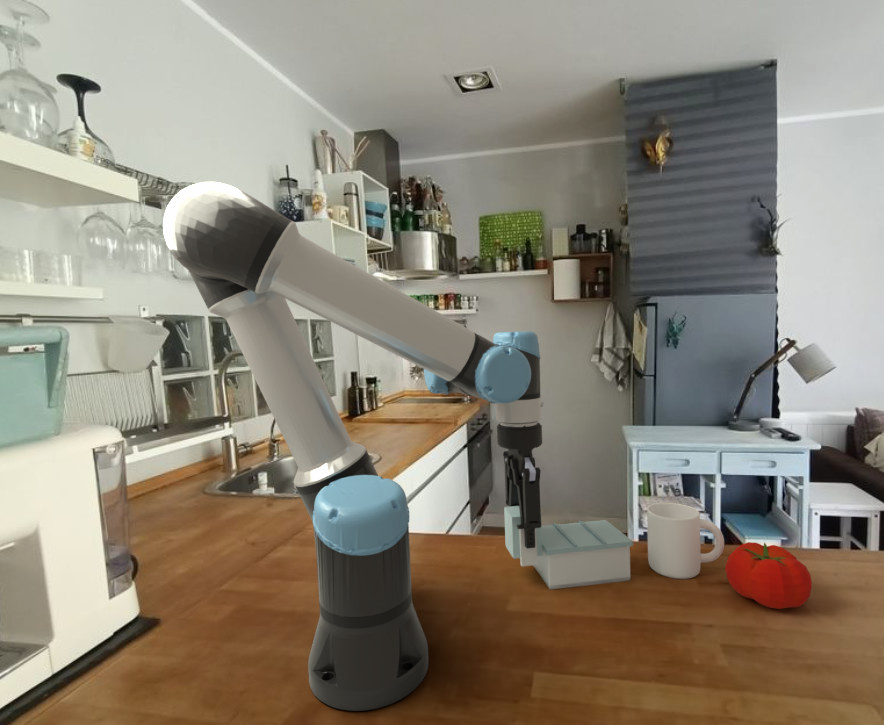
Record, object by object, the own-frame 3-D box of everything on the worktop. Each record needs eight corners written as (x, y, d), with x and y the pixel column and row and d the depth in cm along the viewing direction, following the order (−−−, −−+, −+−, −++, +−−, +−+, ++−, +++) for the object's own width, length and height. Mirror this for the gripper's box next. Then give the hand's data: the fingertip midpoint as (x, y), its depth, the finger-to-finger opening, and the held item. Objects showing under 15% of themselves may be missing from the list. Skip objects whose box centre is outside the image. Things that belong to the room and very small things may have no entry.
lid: (633, 553, 81) (632, 511, 81) (517, 565, 78) (516, 522, 78) (605, 530, 91) (604, 493, 90) (502, 540, 88) (500, 502, 88)
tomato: (725, 576, 82) (725, 532, 81) (807, 590, 76) (806, 544, 76) (725, 607, 73) (724, 558, 72) (817, 627, 67) (817, 574, 67)
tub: (630, 580, 82) (629, 545, 81) (550, 589, 80) (548, 553, 80) (605, 556, 91) (604, 525, 90) (532, 564, 89) (531, 532, 88)
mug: (718, 562, 87) (718, 505, 86) (731, 585, 79) (730, 522, 78) (646, 555, 90) (644, 501, 90) (650, 577, 82) (649, 517, 82)
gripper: (560, 430, 74) (564, 580, 75) (524, 413, 92) (528, 534, 93) (512, 434, 73) (517, 585, 74) (485, 415, 91) (490, 538, 92)
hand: (523, 556), depth 84 cm, fingers closed on lid, 5 cm apart
